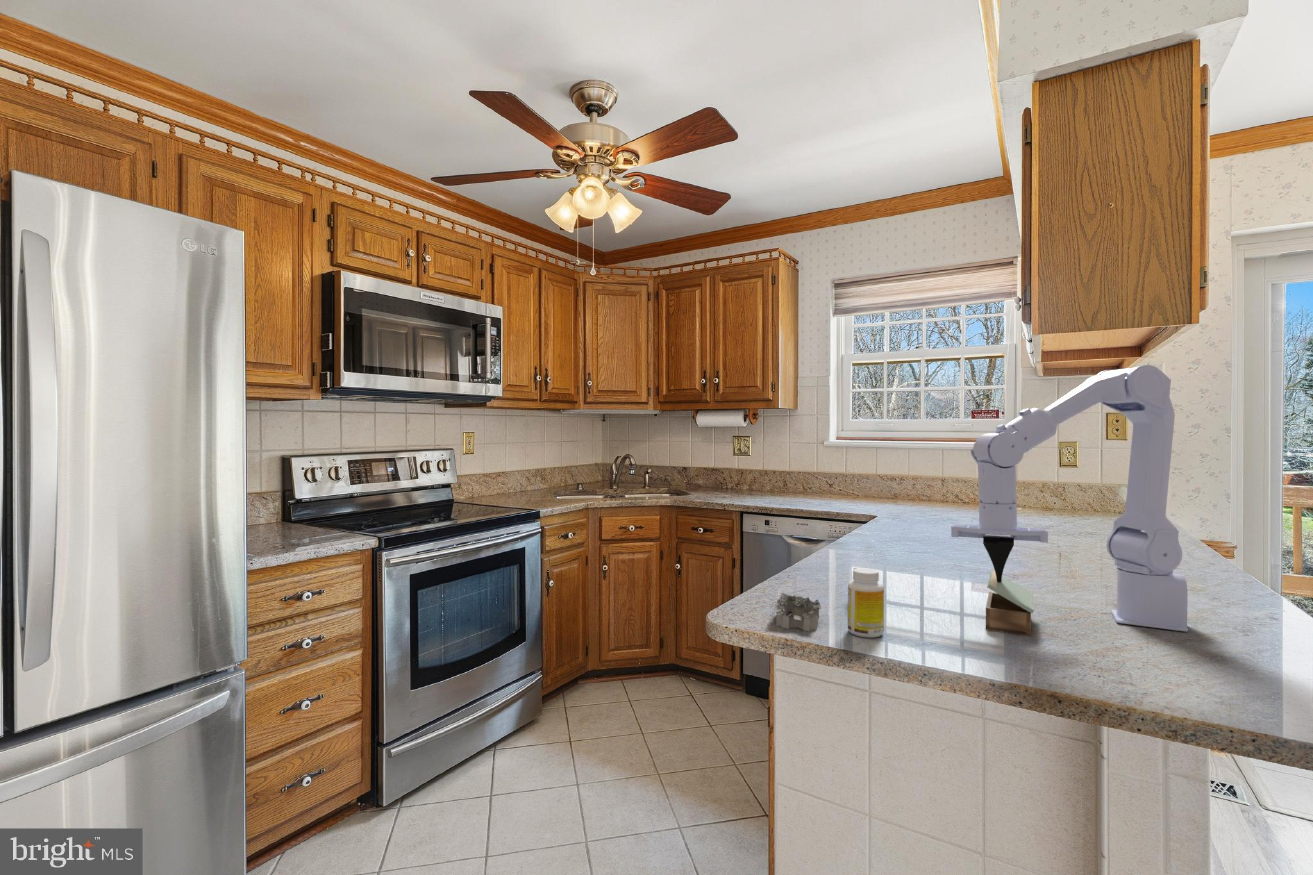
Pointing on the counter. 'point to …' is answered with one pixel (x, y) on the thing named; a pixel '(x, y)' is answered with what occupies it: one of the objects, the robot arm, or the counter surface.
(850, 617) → the supplement bottle
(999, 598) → the box
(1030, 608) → the lid
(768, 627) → the counter surface
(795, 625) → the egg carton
